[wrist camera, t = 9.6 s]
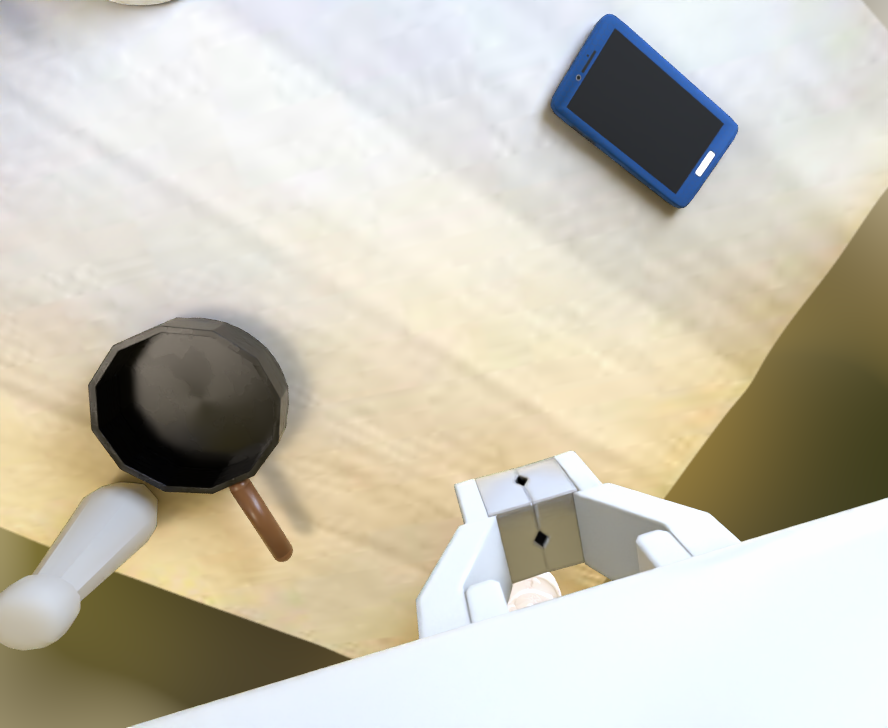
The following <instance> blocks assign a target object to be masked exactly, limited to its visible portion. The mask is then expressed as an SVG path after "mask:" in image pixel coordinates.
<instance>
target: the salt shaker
mask: <svg viewBox="0 0 888 728" xmlns="http://www.w3.org/2000/svg"><path fill="white" fill-rule="evenodd" d="M157 507H158V499H157V498H156V497H155V496H154V495H153V494H152V493H151V491H150V490H149V489H148V488H147V487H146V486H145V485H144V484H138V483H125V482H118V483H115V484H111V485H107V486H103V487H101V488H99V489H97V490H96V491H94V492H92V493H91V494H89V495H87V496H86V497H84V498H83V499H82V501H81V502H80V504H79V505H78V507H77V508H76V510H75V512H74V513H73V515H72V516H71V518H70V519H69V521H68V522H67V524H66V525H65V526H64V528H63V529H62V531H61V532H60V534H59V535H58V537H57V538H56V540H55V541H54V543H53V544H52V546H51V547H50V549H49V550H48V552H47V553H46V555H45V557H44V558H43V559H42V561H41V562H40V564H39V565H38V567H37V568H36V570H35V571H34V573H33V574H32V575H30V576H26V577H24V578H22V579H20V580H18V581H17V582H15V583H13V584H12V585H10V586H8V587H7V588H6V589H5V590H4V591H2V592H1V593H0V643H1V644H3V645H5V646H7V647H9V648H14V649H19V650H30V649H37V648H44V647H46V646H48V645H50V644H52V643H53V642H55V641H57V640H58V639H60V638H61V637H62V636H63V635H64V634H65V633H66V632H67V630H68V629H69V627H70V626H71V625H72V623H73V622H74V620H75V618H76V617H77V615H78V613H79V611H80V601H82V600H83V599H84V598H85V597H86V596H87V595H88V594H89V593H90V592H91V591H92V590H94V589H95V588H96V587H97V586H98V585H99V584H101V583H102V582H103V581H104V580H105V579H106V578H107V577H108V576H110V575H111V574H112V573H113V572H114V571H115V570H116V569H117V568H118V567H120V566H121V565H122V564H123V563H124V562H125V561H126V560H127V559H129V558H130V557H131V556H132V555H133V554H134V553H135V552H136V551H138V550H139V549H140V548H141V547H142V546H143V545H144V544H145V543H147V541H148V540H149V538H150V537H151V535H152V533H153V532H154V530H155V528H156V526H157Z"/></svg>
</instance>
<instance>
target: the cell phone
mask: <svg viewBox="0 0 888 728" xmlns="http://www.w3.org/2000/svg"><path fill="white" fill-rule="evenodd" d="M551 108H552V110H553V112H554V113H555V114H556V115H557V116H558V117H559V118H561V119H562V120H563V121H564V122H565V123H567V124H568V125H569V126H571V127H572V128H573V129H574V130H576V131H577V132H578V133H579V134H581V135H582V136H583V137H585V138H586V139H587V140H588V141H590V142H591V143H592V144H594V145H595V146H596V147H597V148H599V149H600V150H601V151H602V152H604V153H605V154H606V155H608V156H609V157H610V158H611V159H613V160H614V161H615V162H617V163H618V164H619V165H620V166H622V167H623V168H624V169H625V170H627V171H628V172H629V173H631V174H632V175H633V176H634V177H636V178H637V179H638V180H640V181H641V182H642V183H643V184H645V185H646V186H647V187H648V188H650V189H651V190H652V191H654V192H655V193H656V194H657V195H659V196H660V197H661V198H663V199H664V200H665V201H667V202H668V203H669V204H671V205H672V206H674V207H676V208H684V207H686V206H687V205H688V204H689V203H690V201H691V200H692V199H693V198H694V196H695V195H696V194H697V192H698V191H699V189H700V188H701V186H702V185H703V183H704V182H705V180H706V179H707V178H708V176H709V175H710V173H711V172H712V170H713V169H714V167H715V166H716V165H717V163H718V162H719V160H720V159H721V157H722V156H723V154H724V153H725V152H726V150H727V149H728V147H729V146H730V144H731V143H732V141H733V140H734V138H735V136H736V134H737V132H738V125H737V124H736V123H735V122H734V121H733V120H732V118H731V117H730V116H728V115H727V114H726V113H725V112H724V111H723V110H722V109H721V108H719V107H718V106H717V105H716V104H715V103H714V102H713V101H712V100H710V99H709V98H708V97H707V96H706V95H705V94H704V93H703V92H701V91H700V90H699V89H698V88H697V87H696V86H695V85H694V84H692V83H691V82H690V81H689V80H688V79H687V78H686V77H685V76H683V75H682V74H681V73H680V72H679V71H678V70H677V69H676V68H674V67H673V66H672V65H671V64H670V63H669V62H668V61H667V60H665V59H664V58H663V57H662V56H661V55H660V54H659V53H657V52H656V51H655V50H654V49H653V48H652V47H651V46H650V45H648V44H647V43H646V42H645V41H644V40H643V39H642V38H641V37H639V36H638V35H637V34H636V33H635V32H634V31H633V30H632V29H630V28H629V27H628V26H627V25H626V24H625V23H623V22H622V21H621V20H620V19H618V18H617V17H616V16H614V15H613V14H607V15H605V16H603V17H602V18H601V19H600V20H599V21H598V22H597V24H596V25H595V27H594V29H593V30H592V32H591V33H590V35H589V37H588V38H587V40H586V42H585V43H584V45H583V47H582V48H581V50H580V52H579V53H578V55H577V57H576V58H575V60H574V62H573V63H572V65H571V67H570V68H569V70H568V71H567V73H566V75H565V76H564V78H563V80H562V81H561V83H560V85H559V86H558V88H557V90H556V91H555V93H554V95H553V97H552V100H551Z"/></svg>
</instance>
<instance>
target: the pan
mask: <svg viewBox="0 0 888 728" xmlns="http://www.w3.org/2000/svg"><path fill="white" fill-rule="evenodd" d="M88 388H89V401H90V415H91V428H92V431H93V433H94V434H95V435H96V437H97V438H98V439H99V441H100V442H101V444H102V445H103V446H104V448H105V449H106V450H107V452H108V453H109V454H110V456H111V457H112V458H113V460H114V461H115V463H116V464H117V465H118V467H119V468H120V469H121V470H123V471H125V472H127V473H129V474H131V475H133V476H135V477H137V478H139V479H141V480H143V481H145V482H147V483H149V484H151V485H153V486H155V487H157V488H159V489H161V490H163V491H165V492H186V493H208V494H213V493H215V492H218V491H220V490H222V489H225V488H227V487H229V489H230V491H231V493H232V495H233V496H234V498H235V499H236V501H237V502H238V504H239V505H240V507H241V508H242V510H243V511H244V513H245V514H246V516H247V517H248V519H249V520H250V522H251V523H252V525H253V526H254V528H255V529H256V531H257V533H258V534H259V536H260V537H261V539H262V540H263V542H264V543H265V545H266V546H267V548H268V549H269V551H270V552H271V554H272V555H273V557H274V558H275V559H276V560H277V561H279V562H284V561H287V560H288V559H289V558H290V557H291V556H292V553H293V548H292V545H291V544H290V542H289V541H288V539H287V538H286V536H285V534H284V533H283V531H282V530H281V528H280V527H279V525H278V523H277V522H276V520H275V519H274V517H273V516H272V514H271V512H270V511H269V509H268V508H267V506H266V505H265V503H264V501H263V500H262V498H261V497H260V495H259V494H258V492H257V490H256V489H255V487H254V486H253V484H252V482H251V481H250V479H249V478H250V477H252V476H254V475H255V474H256V473H257V471H258V470H259V469H260V467H261V466H262V464H263V463H264V462H265V460H266V459H267V458H268V456H269V455H270V454H271V452H272V451H273V449H274V448H275V447H276V445H277V444H278V443H279V441H280V438H281V436H282V434H283V432H284V430H285V428H286V422H287V413H288V405H289V400H288V385H287V384H286V381H285V378H284V375H283V373H282V370H281V368H280V366H279V364H278V363H277V361H276V360H275V358H274V357H273V355H272V354H271V353H270V352H269V351H268V350H267V348H266V347H265V346H263V345H262V344H261V343H260V342H259V341H258V340H257V339H255V338H254V337H253V336H251V335H250V334H248V333H247V332H245V331H243V330H241V329H239V328H237V327H235V326H232V325H230V324H228V323H226V322H221V321H217V320H211V319H205V318H174V319H172V320H170V321H167V322H165V323H163V324H160V325H158V326H156V327H154V328H151V329H149V330H147V331H144V332H142V333H140V334H137V335H135V336H133V337H131V338H128V339H126V340H124V341H122V342H120V343H117V344H115V345H113V346H112V348H111V350H110V351H109V353H108V354H107V356H106V357H105V359H104V361H103V362H102V364H101V365H100V367H99V368H98V370H97V372H96V373H95V375H94V376H93V378H92V380H91V381H90V383H89V385H88Z"/></svg>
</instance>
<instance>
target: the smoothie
mask: <svg viewBox="0 0 888 728" xmlns="http://www.w3.org/2000/svg"><path fill="white" fill-rule="evenodd" d="M512 585H513V587H512V591H511V595H510V598H509V602H508V605H507V607H508V610H509V612H511V611H514V610H518V609H521V608H524V607H528V606H531V605H534V604H538V603H541V602H544V601H548V600H551V599H554V598H558V597H561V592H560V589H559V587H558V584H557V582H556V580H555V578H554V577H553V576H552V575H551V573H550V572H547V573H544V574H541V575H538V576H535V577H532V578H529V579H526V580H523V581H520V582H517V583H514V584H512Z"/></svg>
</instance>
